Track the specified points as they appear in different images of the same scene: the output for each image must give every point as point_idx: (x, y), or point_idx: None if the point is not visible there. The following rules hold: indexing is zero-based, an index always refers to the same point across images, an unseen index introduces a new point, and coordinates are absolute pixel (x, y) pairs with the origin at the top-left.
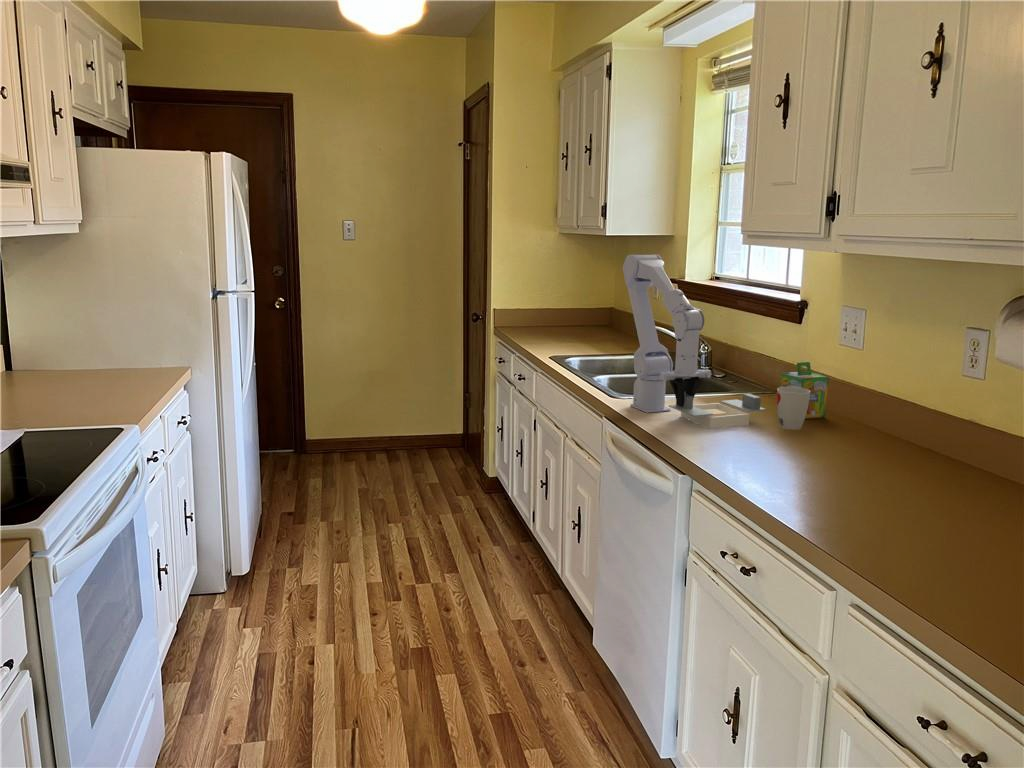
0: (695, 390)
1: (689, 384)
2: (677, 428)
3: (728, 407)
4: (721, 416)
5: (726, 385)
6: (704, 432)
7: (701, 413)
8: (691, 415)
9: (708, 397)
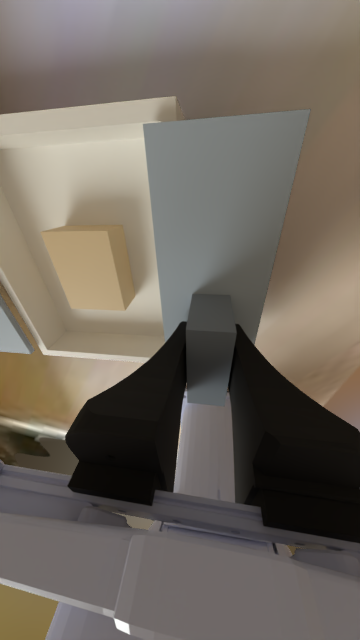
0: (153, 366)
1: (172, 431)
2: (330, 195)
3: (17, 295)
4: (91, 111)
5: (9, 448)
6: (269, 26)
7: (215, 164)
8: (295, 163)
9: (53, 422)
